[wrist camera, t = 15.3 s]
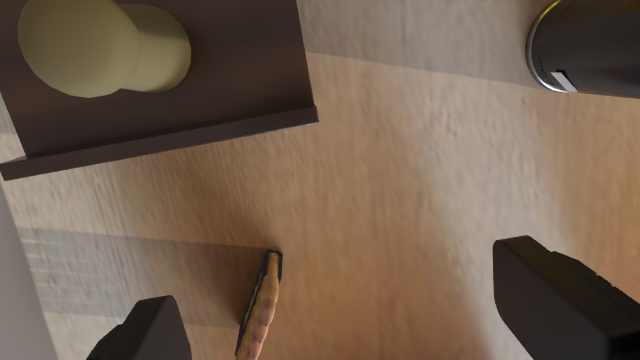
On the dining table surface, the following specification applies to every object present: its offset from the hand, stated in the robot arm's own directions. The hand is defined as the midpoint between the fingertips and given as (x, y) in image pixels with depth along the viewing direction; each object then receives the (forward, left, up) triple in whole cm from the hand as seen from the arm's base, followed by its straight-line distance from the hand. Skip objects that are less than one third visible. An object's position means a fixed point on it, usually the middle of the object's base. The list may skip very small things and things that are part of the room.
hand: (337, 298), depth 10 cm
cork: (+4, -12, -22) cm, 26 cm away
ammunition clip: (+16, +12, -32) cm, 38 cm away
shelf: (+4, -12, -32) cm, 34 cm away
